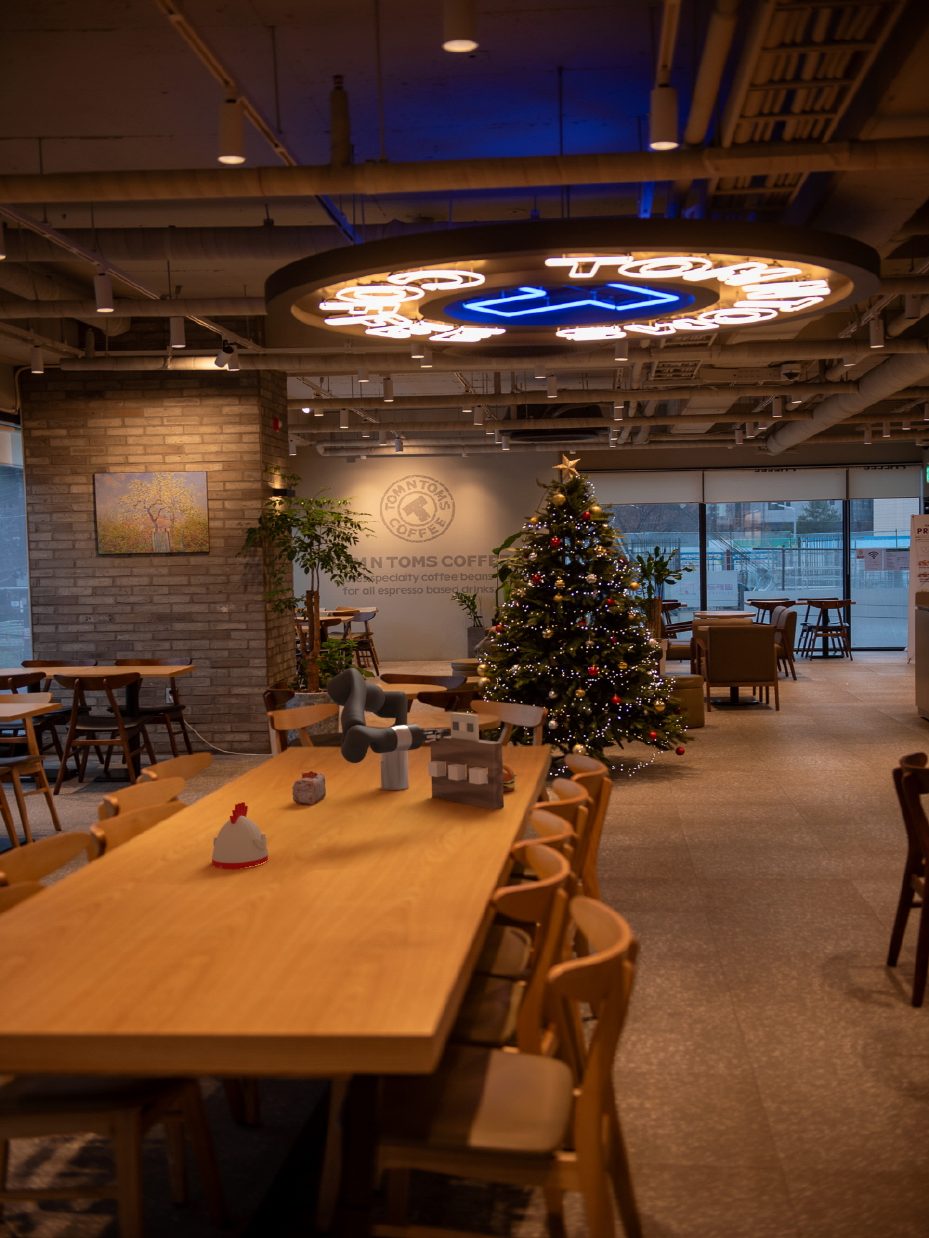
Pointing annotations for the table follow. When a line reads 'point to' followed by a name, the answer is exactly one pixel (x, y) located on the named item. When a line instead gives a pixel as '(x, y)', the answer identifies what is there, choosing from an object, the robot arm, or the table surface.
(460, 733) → the pattern sign
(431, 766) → the left button
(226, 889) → the table surface
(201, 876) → the table surface
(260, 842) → the kitchen timer
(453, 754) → the console
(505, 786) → the cheeseburger
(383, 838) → the table surface
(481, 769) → the right button
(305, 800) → the food item
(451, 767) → the middle button
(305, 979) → the table surface
